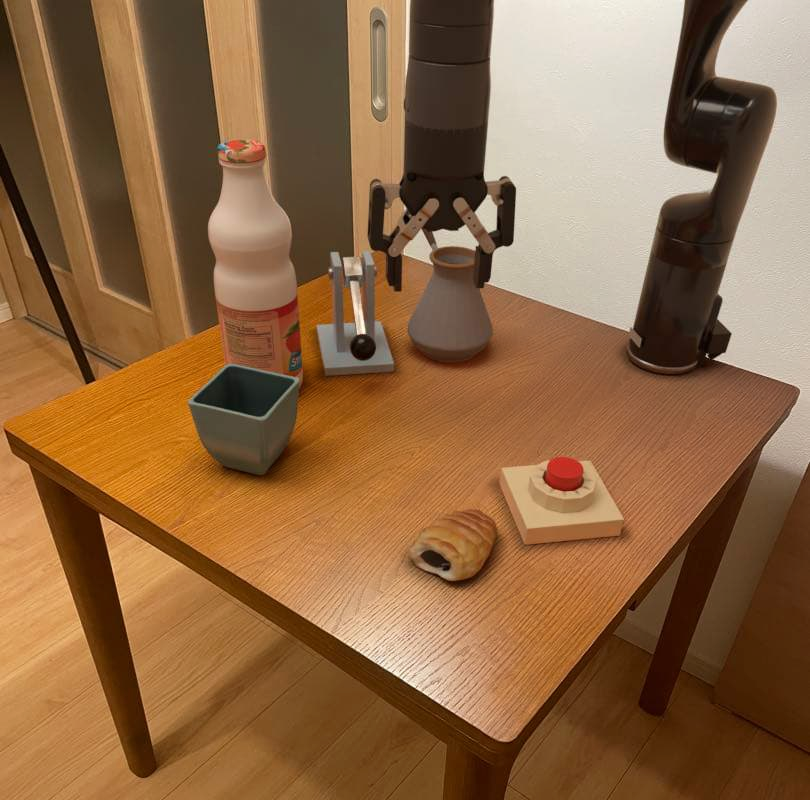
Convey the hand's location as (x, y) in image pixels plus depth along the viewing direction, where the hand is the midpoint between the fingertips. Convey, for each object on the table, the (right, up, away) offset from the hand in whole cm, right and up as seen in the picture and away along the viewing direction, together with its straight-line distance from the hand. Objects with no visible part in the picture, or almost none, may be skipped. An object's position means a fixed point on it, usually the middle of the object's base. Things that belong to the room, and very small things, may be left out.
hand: (438, 287), depth 82 cm
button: (+13, -20, -1) cm, 24 cm away
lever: (-9, +2, +18) cm, 20 cm away
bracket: (-10, -1, +25) cm, 27 cm away
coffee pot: (+1, +3, +30) cm, 30 cm away
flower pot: (-20, -17, +7) cm, 27 cm away
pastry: (+1, -28, -4) cm, 28 cm away
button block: (+13, -23, +1) cm, 26 cm away
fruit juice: (-21, -7, +19) cm, 29 cm away
